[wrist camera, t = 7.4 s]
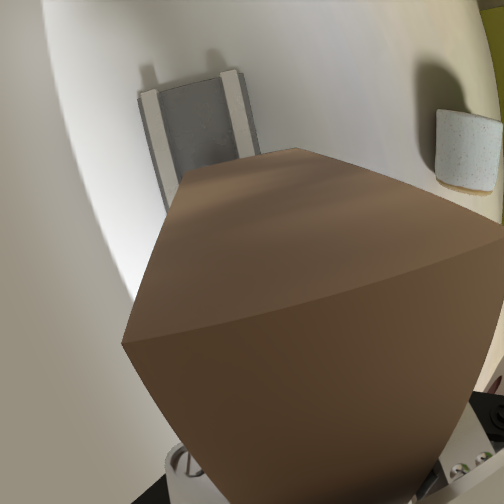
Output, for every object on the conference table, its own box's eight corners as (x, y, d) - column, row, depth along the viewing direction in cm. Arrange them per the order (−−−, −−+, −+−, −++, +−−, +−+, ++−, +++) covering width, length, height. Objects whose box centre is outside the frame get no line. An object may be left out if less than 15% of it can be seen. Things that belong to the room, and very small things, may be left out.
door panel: (295, 147, 9) (516, 232, 2) (325, 400, 14) (381, 536, 7) (185, 171, 9) (121, 343, 2) (257, 418, 14) (290, 563, 7)
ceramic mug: (420, 182, 30) (469, 200, 23) (422, 107, 27) (473, 110, 20) (479, 182, 31) (523, 199, 24) (482, 119, 28) (528, 126, 21)
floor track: (241, 74, 24) (246, 67, 21) (283, 279, 32) (291, 296, 29) (139, 100, 24) (130, 96, 20) (196, 300, 31) (196, 320, 28)
